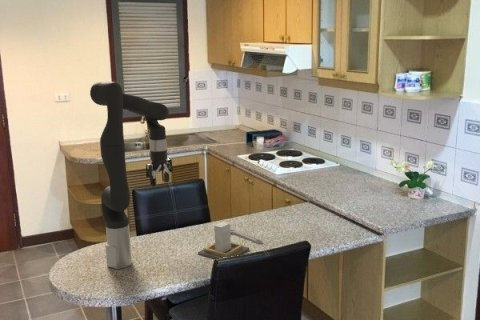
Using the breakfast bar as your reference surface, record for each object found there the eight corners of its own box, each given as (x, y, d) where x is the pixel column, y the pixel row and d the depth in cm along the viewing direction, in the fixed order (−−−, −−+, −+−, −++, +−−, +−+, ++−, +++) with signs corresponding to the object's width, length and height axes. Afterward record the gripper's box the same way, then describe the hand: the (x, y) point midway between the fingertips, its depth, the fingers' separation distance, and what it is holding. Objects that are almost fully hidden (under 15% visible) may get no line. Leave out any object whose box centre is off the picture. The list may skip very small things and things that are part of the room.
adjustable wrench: (263, 243, 236) (263, 240, 235) (252, 247, 232) (252, 243, 231) (229, 228, 255) (229, 225, 254) (218, 231, 251) (218, 228, 250)
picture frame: (227, 262, 215) (227, 257, 215) (197, 254, 224) (197, 249, 223) (249, 249, 228) (249, 244, 227) (220, 242, 237) (219, 237, 236)
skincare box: (223, 247, 229) (222, 221, 226) (231, 249, 226) (230, 223, 224) (214, 251, 224) (213, 225, 221) (222, 253, 222) (221, 227, 219)
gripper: (152, 152, 223) (154, 189, 226) (175, 147, 234) (177, 181, 237) (140, 150, 227) (142, 186, 231) (163, 145, 238) (165, 179, 242)
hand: (160, 184), depth 234 cm, fingers open, 8 cm apart
